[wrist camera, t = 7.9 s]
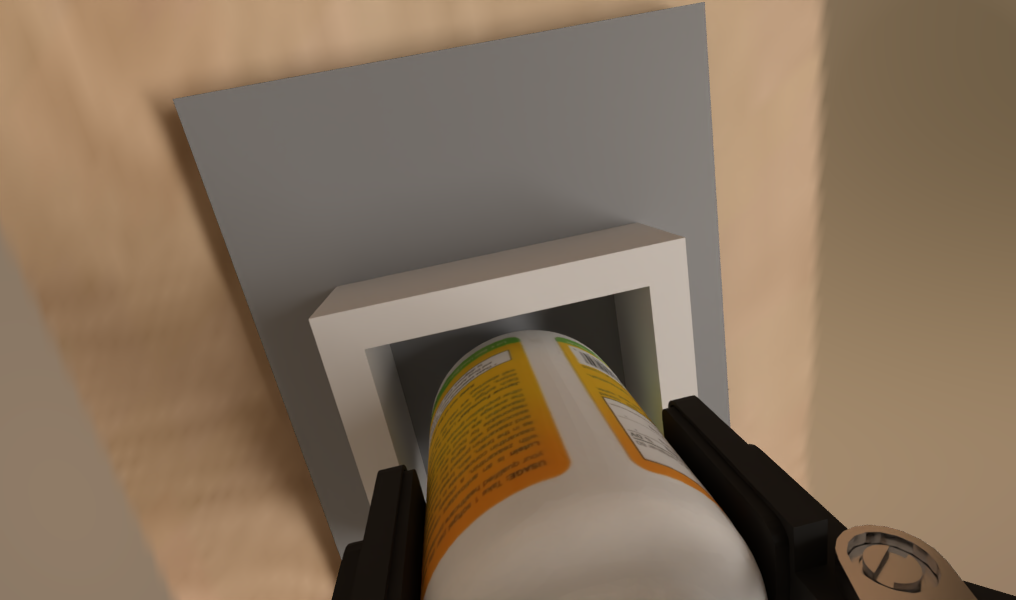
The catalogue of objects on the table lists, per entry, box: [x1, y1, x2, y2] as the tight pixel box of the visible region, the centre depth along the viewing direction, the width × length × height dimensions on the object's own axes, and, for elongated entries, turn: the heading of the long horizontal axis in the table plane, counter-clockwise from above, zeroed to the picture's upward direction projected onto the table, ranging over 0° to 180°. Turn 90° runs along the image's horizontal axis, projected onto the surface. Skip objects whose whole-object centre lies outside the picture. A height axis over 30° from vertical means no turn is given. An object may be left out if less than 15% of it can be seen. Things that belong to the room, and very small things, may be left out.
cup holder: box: [173, 2, 730, 560], centre depth 15 cm, size 20×14×4 cm
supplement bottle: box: [420, 330, 768, 600], centre depth 9 cm, size 5×5×10 cm
